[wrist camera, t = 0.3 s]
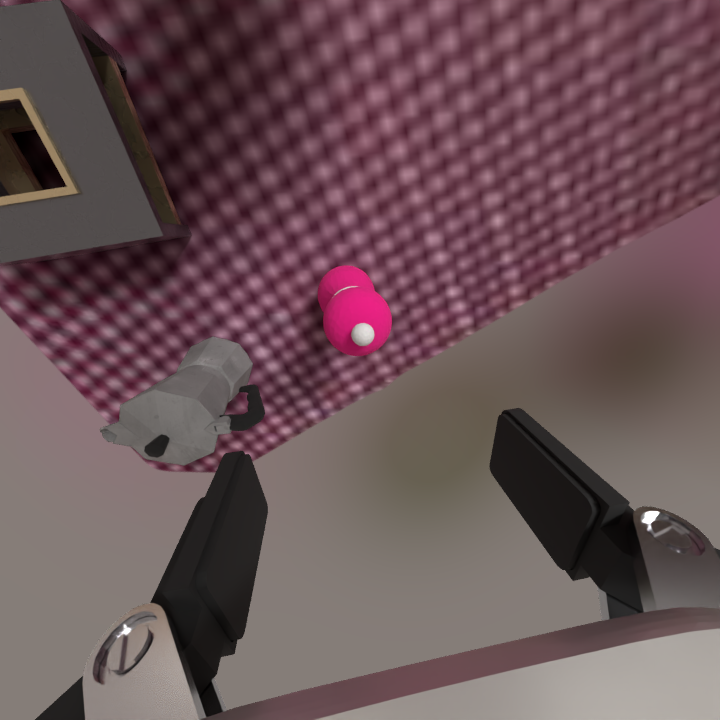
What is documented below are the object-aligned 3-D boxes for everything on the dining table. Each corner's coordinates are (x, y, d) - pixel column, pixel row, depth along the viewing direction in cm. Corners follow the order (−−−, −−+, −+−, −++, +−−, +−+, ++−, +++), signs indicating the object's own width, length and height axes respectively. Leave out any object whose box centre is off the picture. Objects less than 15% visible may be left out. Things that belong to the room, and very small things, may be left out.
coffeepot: (183, 395, 41) (94, 498, 25) (163, 337, 37) (41, 416, 21) (285, 387, 43) (263, 478, 27) (276, 331, 39) (244, 399, 23)
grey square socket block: (119, 53, 25) (56, -4, 19) (191, 235, 32) (161, 235, 26) (-80, 80, 24) (-214, 28, 18) (38, 261, 31) (-30, 268, 25)
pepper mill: (323, 318, 39) (324, 388, 21) (313, 266, 36) (305, 296, 18) (371, 310, 39) (413, 373, 21) (366, 259, 36) (410, 281, 18)
